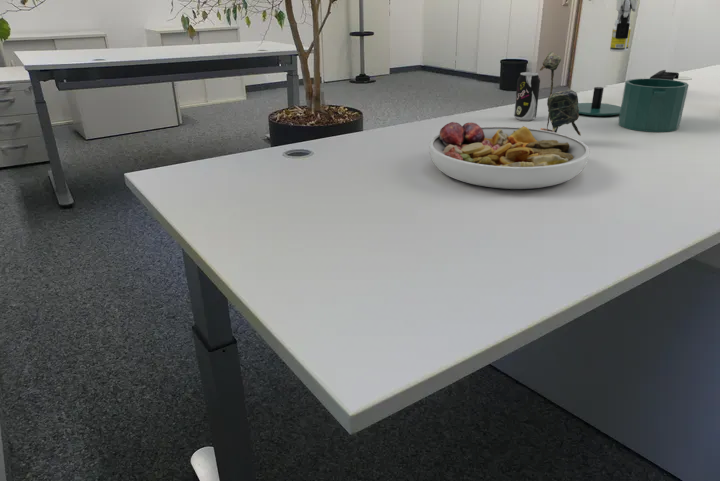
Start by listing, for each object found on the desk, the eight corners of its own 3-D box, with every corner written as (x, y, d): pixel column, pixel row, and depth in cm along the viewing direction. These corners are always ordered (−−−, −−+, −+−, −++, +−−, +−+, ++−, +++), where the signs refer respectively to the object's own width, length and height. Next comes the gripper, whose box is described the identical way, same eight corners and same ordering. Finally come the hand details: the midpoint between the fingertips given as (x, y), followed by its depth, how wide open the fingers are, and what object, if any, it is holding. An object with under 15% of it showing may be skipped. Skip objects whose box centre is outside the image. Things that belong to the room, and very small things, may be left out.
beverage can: (509, 119, 148) (513, 73, 143) (521, 115, 152) (526, 70, 146) (527, 122, 144) (533, 75, 139) (540, 118, 148) (545, 72, 143)
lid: (622, 107, 158) (626, 84, 155) (625, 118, 145) (630, 93, 143) (567, 105, 163) (570, 82, 160) (566, 116, 150) (570, 91, 147)
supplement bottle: (618, 49, 163) (623, 19, 159) (631, 50, 159) (636, 19, 155) (606, 50, 161) (610, 20, 158) (618, 52, 157) (622, 20, 154)
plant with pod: (572, 150, 120) (586, 54, 111) (522, 143, 126) (531, 51, 117) (582, 141, 126) (596, 50, 118) (533, 135, 132) (543, 48, 123)
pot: (672, 118, 144) (681, 77, 140) (684, 136, 128) (694, 90, 124) (616, 116, 149) (623, 76, 144) (620, 132, 132) (628, 88, 128)
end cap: (651, 90, 181) (655, 69, 178) (675, 92, 177) (679, 70, 175) (644, 95, 174) (648, 73, 171) (669, 97, 170) (674, 74, 167)
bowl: (602, 161, 112) (608, 122, 109) (559, 207, 90) (566, 160, 87) (466, 142, 128) (468, 108, 124) (401, 177, 105) (401, 137, 102)
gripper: (649, -35, 142) (637, 40, 150) (643, -33, 157) (632, 35, 164) (618, -33, 145) (607, 40, 152) (614, -32, 159) (605, 35, 167)
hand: (620, 36), depth 158 cm, fingers closed on supplement bottle, 4 cm apart
